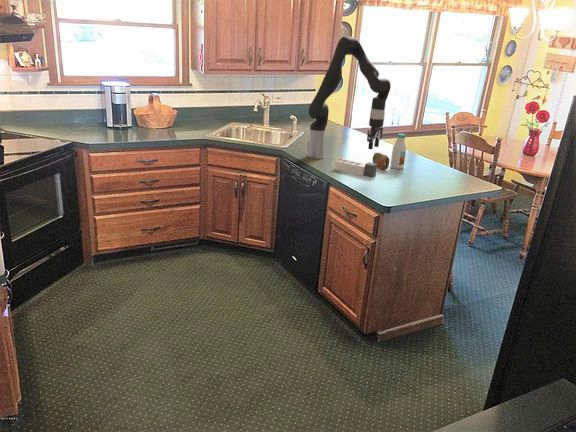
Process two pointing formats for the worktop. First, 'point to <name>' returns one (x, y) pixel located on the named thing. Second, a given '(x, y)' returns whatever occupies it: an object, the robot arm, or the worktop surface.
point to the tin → (381, 161)
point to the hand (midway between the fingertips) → (373, 147)
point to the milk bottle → (398, 152)
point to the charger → (370, 169)
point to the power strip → (350, 166)
